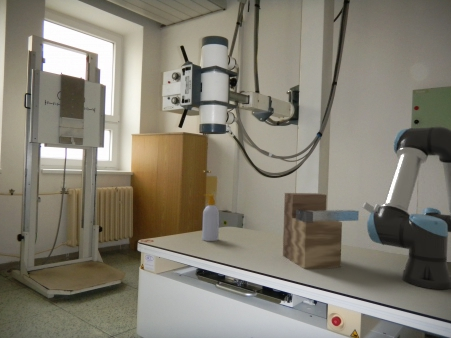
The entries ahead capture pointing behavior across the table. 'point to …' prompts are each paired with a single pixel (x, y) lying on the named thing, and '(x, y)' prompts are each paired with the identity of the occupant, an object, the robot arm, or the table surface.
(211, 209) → the soap bottle
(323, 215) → the steel bar
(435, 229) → the robot arm
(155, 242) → the table surface
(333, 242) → the walnut step stand
